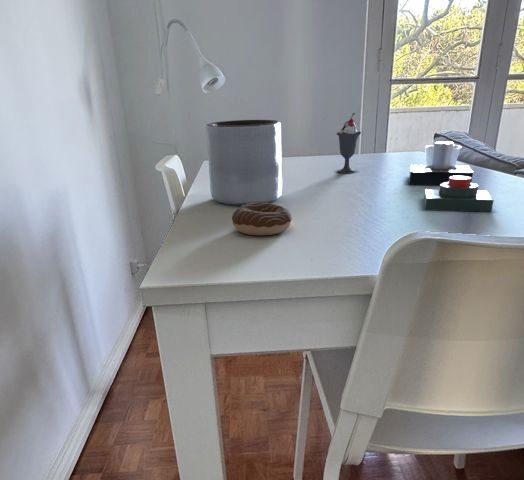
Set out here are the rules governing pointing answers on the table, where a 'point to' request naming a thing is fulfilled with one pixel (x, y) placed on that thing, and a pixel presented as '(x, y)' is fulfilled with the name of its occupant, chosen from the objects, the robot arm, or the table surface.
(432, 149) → the candle
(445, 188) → the box
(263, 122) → the planter
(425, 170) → the block
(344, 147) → the sundae
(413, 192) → the table surface
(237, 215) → the donut
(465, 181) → the button
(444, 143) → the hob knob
